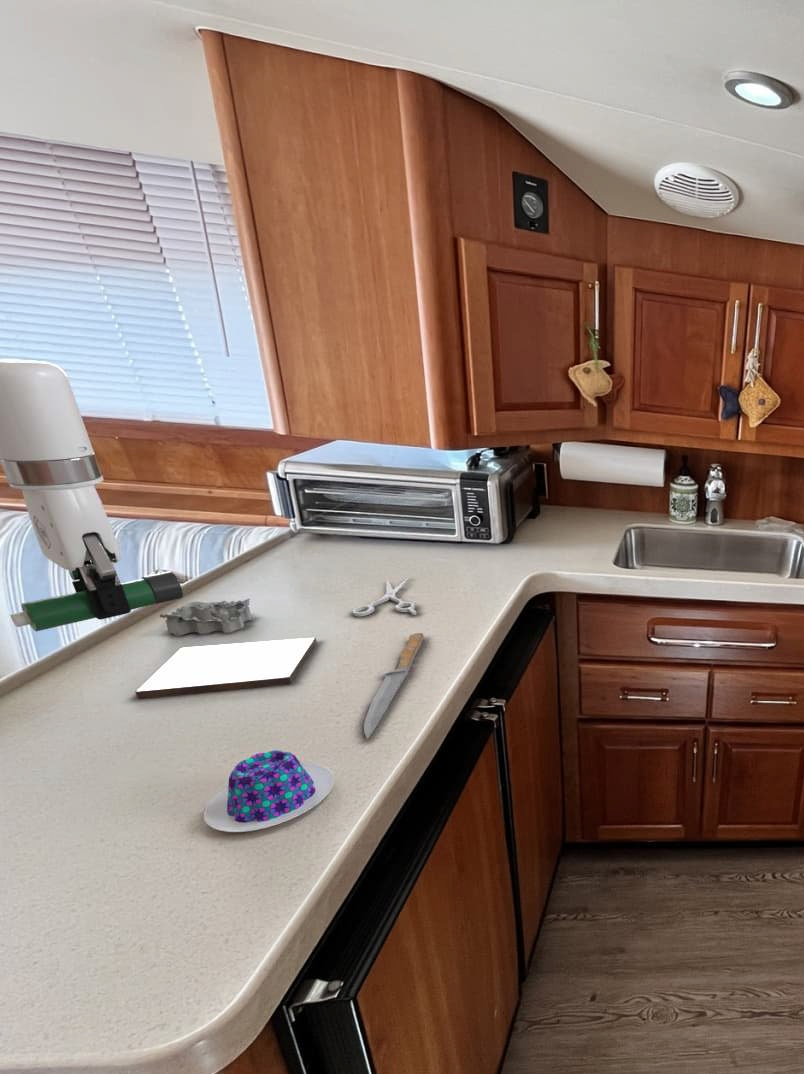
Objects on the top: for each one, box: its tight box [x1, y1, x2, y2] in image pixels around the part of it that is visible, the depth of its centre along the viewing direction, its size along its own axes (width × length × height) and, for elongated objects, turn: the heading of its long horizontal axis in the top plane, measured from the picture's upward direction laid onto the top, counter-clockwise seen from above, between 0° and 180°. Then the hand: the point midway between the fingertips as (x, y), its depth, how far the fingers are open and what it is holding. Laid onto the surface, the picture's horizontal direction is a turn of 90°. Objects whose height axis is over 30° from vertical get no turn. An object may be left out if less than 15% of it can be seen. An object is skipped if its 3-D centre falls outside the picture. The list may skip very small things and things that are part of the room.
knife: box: [363, 632, 425, 739], centre depth 99 cm, size 31×1×3 cm
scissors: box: [352, 577, 417, 617], centre depth 128 cm, size 11×1×20 cm
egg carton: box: [159, 598, 253, 637], centre depth 111 cm, size 11×8×4 cm
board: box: [135, 637, 318, 700], centre depth 99 cm, size 18×14×1 cm
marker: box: [10, 570, 184, 632], centre depth 81 cm, size 15×4×4 cm, turn 150°
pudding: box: [203, 749, 335, 833], centre depth 74 cm, size 12×12×5 cm
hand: (107, 610), depth 82 cm, fingers closed on marker, 3 cm apart
